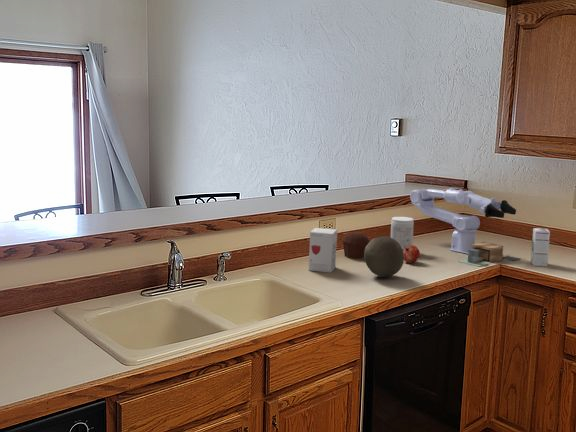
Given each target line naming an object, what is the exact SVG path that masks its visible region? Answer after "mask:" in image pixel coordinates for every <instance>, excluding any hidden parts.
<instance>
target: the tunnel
mask: <svg viewBox="0 0 576 432" xmlns="http://www.w3.org/2000/svg"><path fill="white" fill-rule="evenodd" d="M478 248H481V249H486V250H490V255H489V261H488V262H489V263H490V264H492V263H495V262H499V261H502V260H503V259H502V257H503V255H504V254H503V251H504V245H502V244H497V243H492V242H487V241H481V242H477V243H476V242H475V244H473V245H472V249H476V250H477V249H478Z"/></svg>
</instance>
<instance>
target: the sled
mask: <svg viewBox="0 0 576 432" xmlns="http://www.w3.org/2000/svg"><path fill="white" fill-rule="evenodd" d="M489 255H490V250H486V249H481V248H478V249H477V250H476V249H470V250H469V252H468V254H467V259H468V262H471V263H477V262H480V261H486V262H489Z"/></svg>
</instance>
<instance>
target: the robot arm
mask: <svg viewBox="0 0 576 432" xmlns="http://www.w3.org/2000/svg"><path fill="white" fill-rule="evenodd" d="M409 198H410V201H411V204H412V205H413V206H415V207H416V208H418V209H419V211H420V212H421V213H422V214H423V215H424V216H428V217H431V218H433V219H436V220H440V221H442V222H445V223H448V224H450V225H452V227H453V228H455V230H454V231H453V233H452V235H451V244H450V251H453V252H456V253H457V252H458V253H463V254H467V255H468V252H469V250H470V249H472V245H473V244H476V232H477V231H478V229H479V228H480V227H481V226H480V224H481V221H480V218H479V217H478V216H477V215H466V214H459V213H456V212H453V211H451V210H448V209H444V208H441V207H439V206H436V205H435V198H437V199H438V198H439V199H444V200H445V202H448V203H454V204H459V205H460V206H464V205H466V206H469V207H471V208H473V209H477V210H479V213H481V214H484V217H485V218H501V219H504V217H505V214H510V215H516V213H517V209H516V208H515V207H513V206H512V205H511V204H509V203H508V200H505V199H503V200H501V201H498V200H496V197H491V198H487V197H485V196H481V195H480V194H479V195H478V194H475V193H474V191H471V190H470V189H469V190H464V189H455V188H454V187H450V188H447V189H446V190H440V189H435V188H426V189H413V190H411V192H410V195H409Z"/></svg>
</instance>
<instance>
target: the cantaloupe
mask: <svg viewBox="0 0 576 432" xmlns="http://www.w3.org/2000/svg"><path fill="white" fill-rule="evenodd" d="M369 241H370V242H369V243H368V245H367V246H366V248H365V252H364V258H363V259H364V262H365V264H366V266H367V268H368V269H369V271H370V272H371V273H373V275H375V276H377V277H380V278H390V277H392V276H395V275H396V274H397V273H399V271H401V269H402V267H403V266H404V263H405V261H404V253H403V250H402V248H401V246H400V244H399V243H398V242H397V241H396V240H394V239H393V238H391V236H378V237H374V238H373V239H371V240H369Z"/></svg>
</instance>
